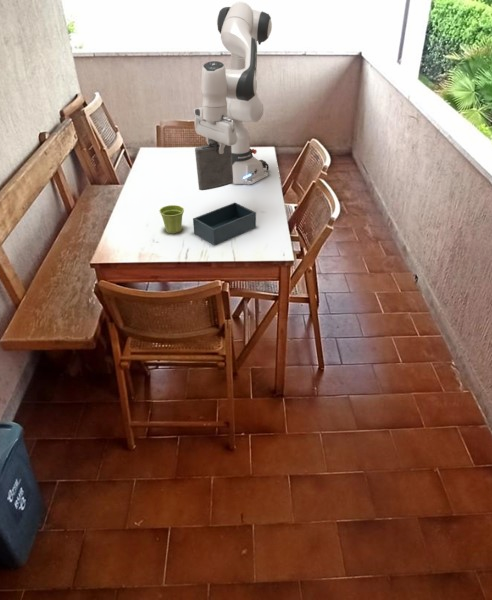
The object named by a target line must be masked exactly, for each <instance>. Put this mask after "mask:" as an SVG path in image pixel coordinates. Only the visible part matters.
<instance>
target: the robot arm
mask: <svg viewBox="0 0 492 600" xmlns="http://www.w3.org/2000/svg"><path fill="white" fill-rule="evenodd" d="M216 26H217V32H218V33H219V34H220V40H221V43H222V45H223V47H224V48H225V49H226V51H228V52H229V53H230V59H229V60H230V61H229V68H226V65H225V63H223V62H221V61H217V60H212V61H208V62H207V61H206V62H205V63H204V64H203V65H202V69H201V77H200V78H201V79H200V84H201V85H200V86H201V95H202V102H201V106H199V107H195V108H193V115H194V119H193V121H194V123H193V124H194V131H195V133H196V135H199V136H202V137H204V138H205V140H206V143H207V145H210V143H209V140H210V139H212V140H214V141H217V142H218V144H219V145H220V147H219V148H218V149H217V151H218V153H219V154H223V153H224V147H225V145H227V146H231V149H232V167H233V183H232V185H233V184H234V185H253V184H255V183H256V182H258V181H260V180H262V179H264V178H265V177H266V178H267V176H269V172H268V171H269V168H270V167H269V164H268V163H267V161H265V160H264V159H258V158H257V157H255V156H254V155H256V154H257V152H258V151H257V149H254V148H251V133H250V131H249V130H248V128H247V127H246V126H245V124H244V123H258V122H259V121H260V120H261V119H262V117H263V115H264V104H263V102H262V100H261V98H260V97H259V96H258V93H257V91H258V90H257V89H258V82H257V65H258V46H260V45H261V44H262V43H264V42H266V41H267V40H268V39H269V37H270V35H271V32H272V29H273V23H272V17H271V15H270V14H269V13H267V12H265V11H260V10H256V9H252V7H251V6H250V5H249V4H248V3H247V2H244V1H237V2H235V3H233V4H232V5H231V6H225V7H222V8H221V9H220V10H219V12H218V15H217V18H216ZM243 122H244V123H243ZM253 154H254V155H253ZM265 169H266V170H265Z"/></svg>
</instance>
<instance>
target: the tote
mask: <svg viewBox="0 0 492 600" xmlns="http://www.w3.org/2000/svg"><path fill="white" fill-rule="evenodd" d="M192 225H193V234H194V235H195V236H197V237H199V238H201V239H202V240H204V241H206V242H207V243H210V244H211V245H213V246H216V245H219V244H221V243H223V242H225V241H228V240H230V239H232V238H234V237H237V236H240V235H241V234H244V233H246V232H248V231H252V230H253V229H255V228H257V212H256V211H253V210H252V209H249V208H248V207H245V206H244V205H241V204H239V203H237V202H233V203H229V204H227V205H225V206H222V207H220V208H217V209H214V210H212V211H209V212H206V213H204V214H200V215H198V216H195V217H193V218H192Z"/></svg>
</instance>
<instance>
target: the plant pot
mask: <svg viewBox="0 0 492 600" xmlns="http://www.w3.org/2000/svg"><path fill="white" fill-rule="evenodd" d="M158 211H159V214H160V216H161V218H162V221H163V225H164V229H165V232H167V233H168V234H177V233H180V232H182V226H183V215H184V212H185V208H184V207H183V206H181V205H176V204H171V205H170V204H169V205H165V206H162V207H161V208H159V210H158Z"/></svg>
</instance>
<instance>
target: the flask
mask: <svg viewBox="0 0 492 600" xmlns="http://www.w3.org/2000/svg"><path fill="white" fill-rule="evenodd" d="M209 143H210V145H208V144H206V145H201V146H197V147H194V152H195V164H196V173H197V183H198V190H199V191H209V190H213V189H217V188H222V187H225V186H229V185H233V167H232V149H231V146H227V145H225V147H224V153H223V154H219V153H218V151H217V149H218V148H219V147H220V145H219V142H217V141H214V140H212V139H210V140H209Z"/></svg>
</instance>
